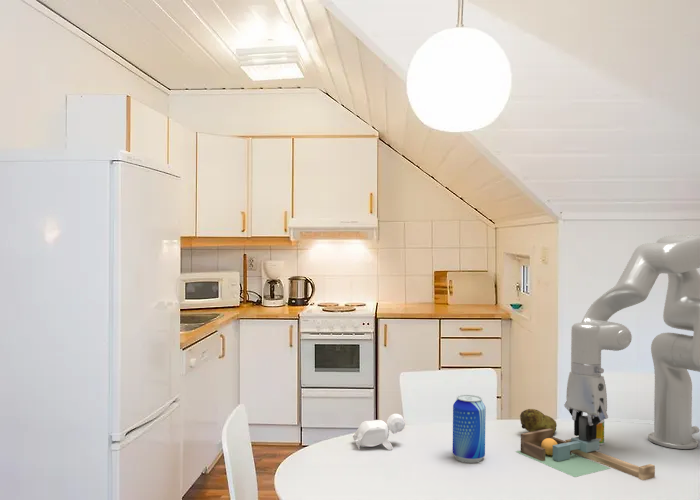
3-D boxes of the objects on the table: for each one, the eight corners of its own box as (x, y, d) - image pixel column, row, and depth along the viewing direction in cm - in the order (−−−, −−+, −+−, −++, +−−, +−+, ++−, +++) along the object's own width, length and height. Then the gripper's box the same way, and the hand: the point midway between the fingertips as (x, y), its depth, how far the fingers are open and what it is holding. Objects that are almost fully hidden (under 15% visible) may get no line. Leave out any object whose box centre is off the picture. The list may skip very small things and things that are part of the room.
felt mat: (549, 445, 164) (549, 444, 164) (610, 469, 147) (610, 468, 147) (515, 452, 158) (515, 451, 158) (574, 477, 141) (574, 477, 141)
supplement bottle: (606, 446, 164) (606, 412, 164) (585, 445, 165) (586, 410, 165) (601, 440, 169) (602, 407, 169) (582, 439, 170) (582, 406, 170)
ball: (559, 436, 156) (563, 454, 154) (547, 437, 159) (551, 454, 158) (548, 439, 154) (551, 456, 152) (536, 439, 157) (539, 456, 156)
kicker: (583, 449, 160) (584, 413, 160) (599, 455, 156) (599, 418, 156) (547, 457, 154) (548, 420, 154) (562, 463, 149) (563, 425, 149)
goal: (549, 446, 163) (549, 428, 163) (571, 454, 156) (571, 436, 156) (520, 452, 158) (520, 433, 158) (541, 461, 151) (542, 441, 151)
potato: (566, 438, 171) (567, 411, 171) (527, 441, 168) (527, 413, 168) (551, 429, 179) (551, 403, 179) (513, 432, 176) (513, 405, 176)
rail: (576, 448, 162) (576, 437, 162) (654, 477, 141) (654, 465, 141) (565, 450, 160) (565, 440, 160) (643, 481, 139) (643, 468, 139)
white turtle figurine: (363, 463, 157) (414, 440, 159) (352, 434, 157) (403, 412, 159) (358, 452, 166) (406, 430, 168) (347, 424, 165) (395, 403, 167)
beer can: (490, 458, 153) (491, 397, 153) (474, 466, 147) (474, 403, 147) (463, 450, 159) (464, 392, 159) (446, 458, 153) (446, 397, 153)
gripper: (622, 373, 151) (621, 444, 151) (571, 362, 166) (570, 427, 166) (602, 376, 148) (601, 448, 148) (552, 364, 162) (551, 430, 162)
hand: (585, 436), depth 157 cm, fingers closed on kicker, 3 cm apart
